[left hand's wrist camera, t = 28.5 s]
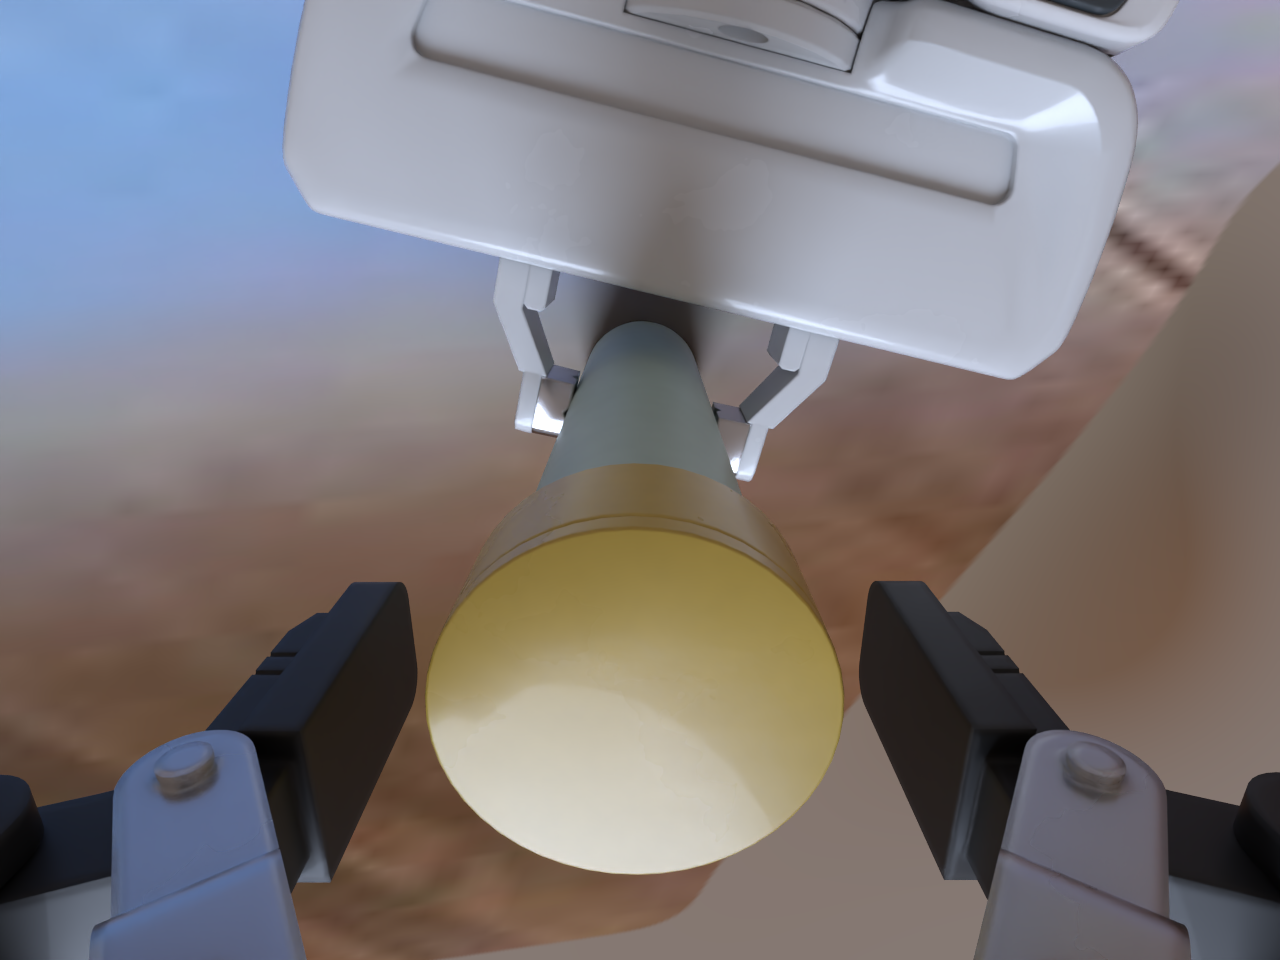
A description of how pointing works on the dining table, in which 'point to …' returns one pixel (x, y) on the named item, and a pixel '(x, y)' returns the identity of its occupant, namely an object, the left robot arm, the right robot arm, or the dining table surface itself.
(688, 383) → the mint green cylinder
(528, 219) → the right robot arm
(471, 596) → the lid
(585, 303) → the dining table surface
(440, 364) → the dining table surface
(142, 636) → the dining table surface
